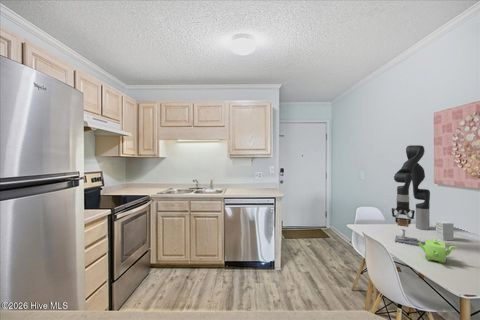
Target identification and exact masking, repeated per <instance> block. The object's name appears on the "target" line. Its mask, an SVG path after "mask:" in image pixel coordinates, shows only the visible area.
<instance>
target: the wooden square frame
mask: <svg viewBox="0 0 480 320" xmlns="http://www.w3.org/2000/svg"><path fill="white" fill-rule="evenodd" d="M397 226H398V227H399V226H400V227H407V228H409V225H408V218H407V217H406V218H405V217H398V223H397Z"/></svg>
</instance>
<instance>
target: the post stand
mask: <svg viewBox="0 0 480 320" xmlns="http://www.w3.org/2000/svg"><path fill="white" fill-rule="evenodd" d="M394 239H395V240H394V242H395V243H397V242H399V243H398V244H403V243H405V244H404V245H409V244H410V245H409V246H414V247H415V246H417V247H418V246H419V244H418V243H419V242H418V238H415V237H410V236H406V230H405V229H402V228H401V229H400V235H395V238H394Z"/></svg>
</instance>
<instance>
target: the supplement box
mask: <svg viewBox="0 0 480 320" xmlns="http://www.w3.org/2000/svg"><path fill="white" fill-rule="evenodd" d="M454 229H455V228H454V223H453V222H451V221H448V220H435V237H436V239H438V240H439V239H440V240H441V241H454V239H455V238H454V231H455V230H454Z"/></svg>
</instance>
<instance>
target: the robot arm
mask: <svg viewBox="0 0 480 320" xmlns="http://www.w3.org/2000/svg"><path fill="white" fill-rule="evenodd" d="M425 152H426V151H425V147H424V146H423V145H418V144H417V145H414V144H413V145H412V144H410V145H407V146H406V148H405V154H406V158H407V160H406V161H405V162H403V164H402V165H401V168H400V169H399V170H398V171H396V173H394V176H393V180H394V182H396V183H402V184H403V185H399V186H397V187H396V208H395V207H392V208H391V213H392V214H391V215H392V217H393V218H395V219H394V221H395V223H396V224H398V218H399V216H400V215H401V216H406V218H407V219H408V226H410V225H411V224H412V223H411V222H412V221H411V220H414V219H415V228H416V229H419V230H425V231H429V230H430V223H431V222H430V212H431V211H430V199H431V191H430V189H425V188H419V187H420V184H422V182H423V181H424V179H426V173H425V168H423V166H422V165H421V164H420V163H419V162H420V160H421V159H423V156H424V155H425ZM411 183H412V193H413V197H414V200H419V201H423V202H418V203H416V204H415V210H414V209H410V187H411ZM395 212H396V214H395ZM409 213H411V216H410V214H409Z"/></svg>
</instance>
